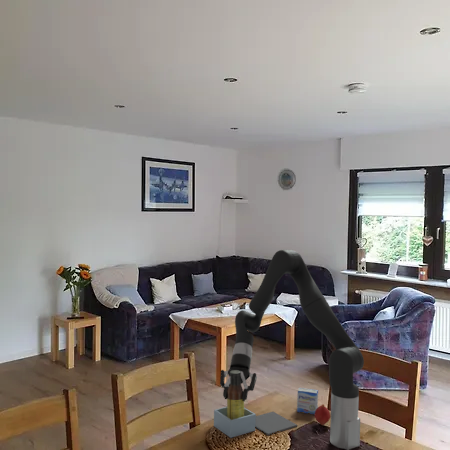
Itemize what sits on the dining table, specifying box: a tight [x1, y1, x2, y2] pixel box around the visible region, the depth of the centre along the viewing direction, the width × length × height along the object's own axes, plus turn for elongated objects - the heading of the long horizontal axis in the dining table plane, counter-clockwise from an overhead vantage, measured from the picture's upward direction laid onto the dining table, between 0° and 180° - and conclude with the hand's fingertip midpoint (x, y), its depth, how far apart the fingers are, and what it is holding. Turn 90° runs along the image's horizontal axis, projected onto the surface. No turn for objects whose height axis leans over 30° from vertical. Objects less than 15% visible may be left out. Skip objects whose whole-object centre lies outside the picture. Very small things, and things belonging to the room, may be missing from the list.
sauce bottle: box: [226, 370, 245, 420], centre depth 172 cm, size 6×6×20 cm
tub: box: [213, 406, 257, 439], centre depth 172 cm, size 11×11×6 cm
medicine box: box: [296, 387, 319, 415], centre depth 189 cm, size 8×4×9 cm, turn 73°
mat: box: [255, 411, 298, 436], centre depth 177 cm, size 14×14×1 cm
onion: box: [313, 403, 331, 426], centre depth 177 cm, size 6×6×8 cm
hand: (234, 399), depth 171 cm, fingers closed on sauce bottle, 6 cm apart
